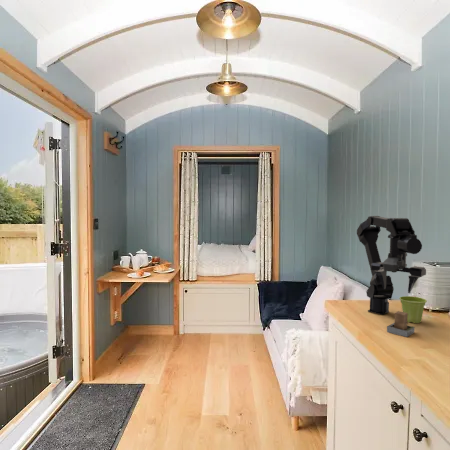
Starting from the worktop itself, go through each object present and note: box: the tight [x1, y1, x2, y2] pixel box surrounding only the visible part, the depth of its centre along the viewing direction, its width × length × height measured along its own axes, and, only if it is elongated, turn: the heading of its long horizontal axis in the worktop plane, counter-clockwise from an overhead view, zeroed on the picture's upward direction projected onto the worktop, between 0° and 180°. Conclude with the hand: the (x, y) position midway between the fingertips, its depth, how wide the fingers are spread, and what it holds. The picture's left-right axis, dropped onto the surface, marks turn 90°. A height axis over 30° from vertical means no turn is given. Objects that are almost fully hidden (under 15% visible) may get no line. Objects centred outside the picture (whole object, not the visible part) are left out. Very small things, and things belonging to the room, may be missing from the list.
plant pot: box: [399, 295, 428, 324], centre depth 139 cm, size 9×9×9 cm
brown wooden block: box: [393, 310, 408, 330], centre depth 126 cm, size 3×3×7 cm
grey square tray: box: [386, 322, 415, 338], centre depth 126 cm, size 7×7×2 cm
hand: (396, 291), depth 138 cm, fingers open, 9 cm apart
